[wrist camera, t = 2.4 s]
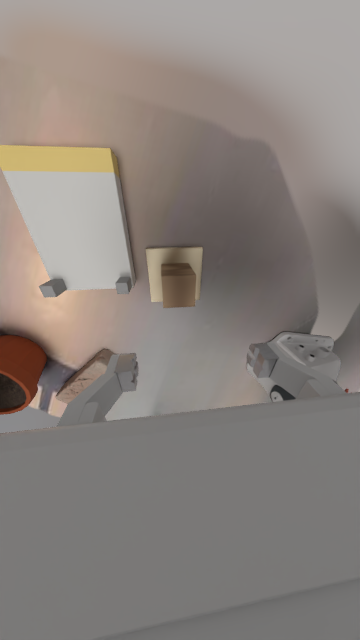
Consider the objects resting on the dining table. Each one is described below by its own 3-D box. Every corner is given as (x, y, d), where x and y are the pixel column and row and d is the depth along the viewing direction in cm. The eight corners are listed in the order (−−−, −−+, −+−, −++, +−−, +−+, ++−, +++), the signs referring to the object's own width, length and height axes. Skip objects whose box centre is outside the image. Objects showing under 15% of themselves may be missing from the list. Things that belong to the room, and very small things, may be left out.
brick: (103, 346, 36) (96, 362, 32) (133, 364, 39) (129, 380, 35) (63, 381, 40) (52, 399, 36) (93, 394, 44) (86, 412, 40)
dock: (116, 157, 20) (101, 135, 15) (135, 281, 28) (130, 294, 23) (13, 155, 19) (-41, 131, 14) (65, 284, 27) (43, 298, 22)
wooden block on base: (200, 246, 27) (215, 256, 19) (197, 296, 31) (208, 318, 24) (146, 247, 26) (140, 258, 19) (152, 298, 31) (149, 322, 24)
